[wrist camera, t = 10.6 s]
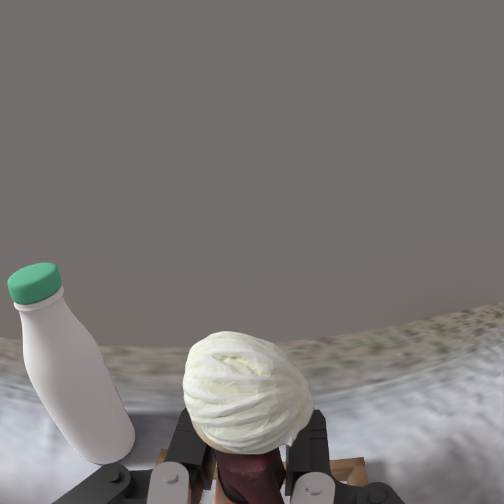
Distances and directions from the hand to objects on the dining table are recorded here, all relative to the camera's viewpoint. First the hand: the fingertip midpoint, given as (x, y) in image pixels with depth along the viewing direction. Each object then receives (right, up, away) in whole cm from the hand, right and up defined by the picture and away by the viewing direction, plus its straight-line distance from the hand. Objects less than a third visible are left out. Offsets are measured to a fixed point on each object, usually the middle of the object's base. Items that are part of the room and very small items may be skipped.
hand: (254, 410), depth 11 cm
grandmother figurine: (0, -8, 0) cm, 8 cm away
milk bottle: (-16, -14, +13) cm, 25 cm away
